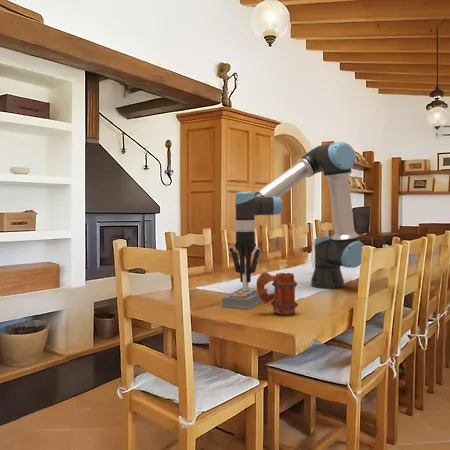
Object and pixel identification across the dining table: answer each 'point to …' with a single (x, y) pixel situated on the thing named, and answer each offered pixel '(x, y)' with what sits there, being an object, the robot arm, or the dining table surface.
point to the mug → (279, 292)
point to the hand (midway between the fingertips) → (245, 290)
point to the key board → (241, 301)
